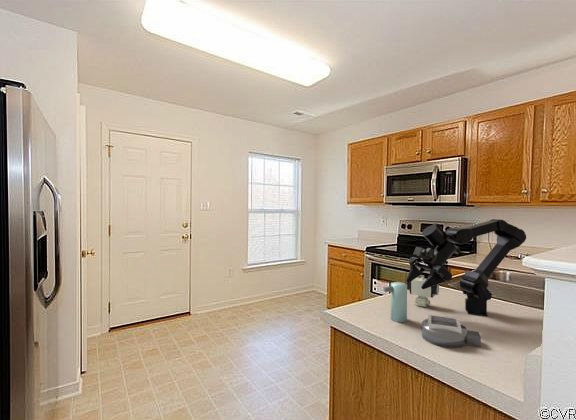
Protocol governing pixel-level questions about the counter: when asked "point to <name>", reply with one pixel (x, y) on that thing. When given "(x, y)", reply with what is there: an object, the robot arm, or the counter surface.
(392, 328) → the counter surface
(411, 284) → the pneumatic valve
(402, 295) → the cylinder
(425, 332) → the grey socket base
